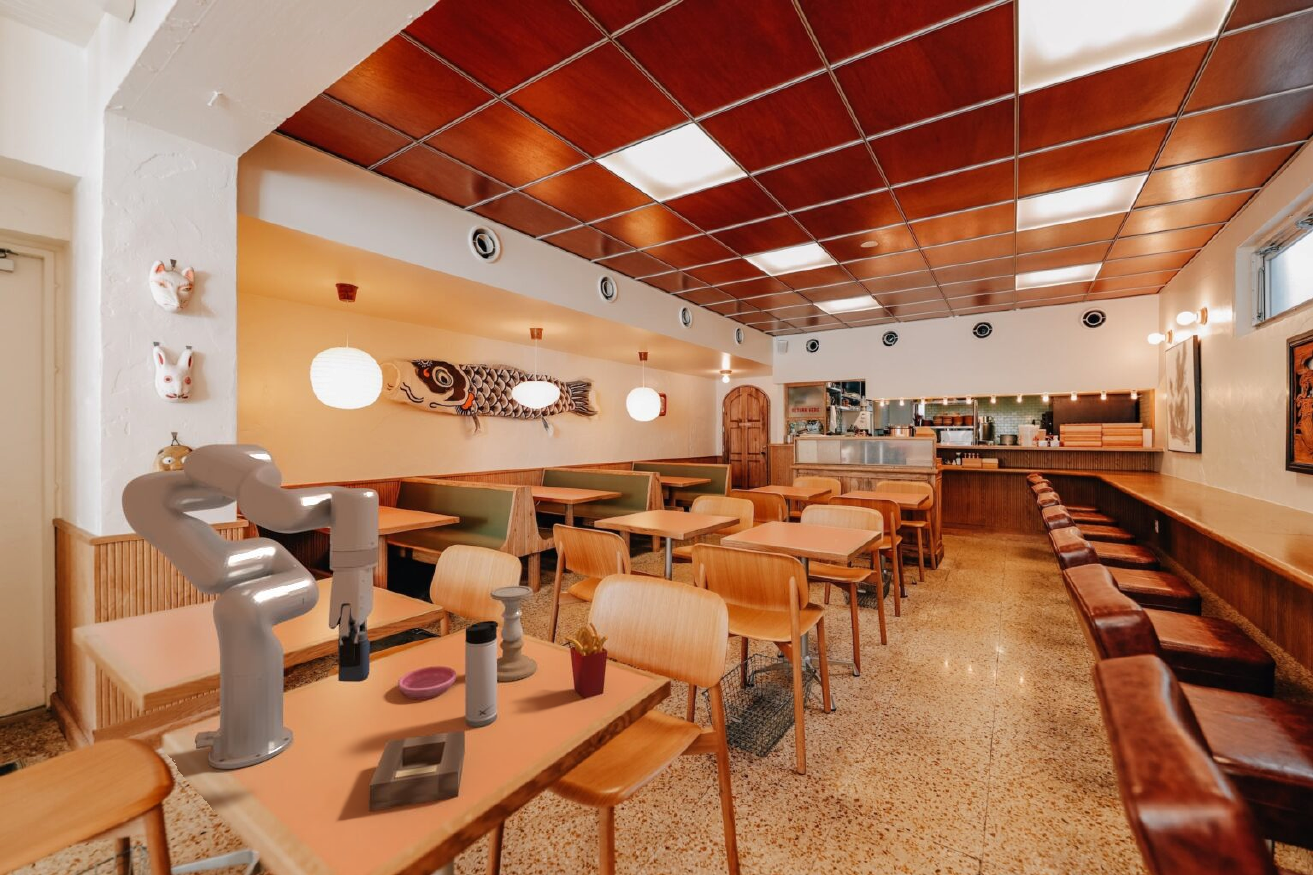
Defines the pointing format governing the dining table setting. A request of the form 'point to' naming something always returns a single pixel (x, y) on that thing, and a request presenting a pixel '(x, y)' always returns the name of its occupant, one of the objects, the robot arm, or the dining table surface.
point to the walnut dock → (418, 770)
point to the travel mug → (481, 674)
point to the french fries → (588, 662)
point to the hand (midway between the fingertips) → (353, 660)
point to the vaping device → (362, 670)
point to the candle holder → (513, 635)
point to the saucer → (427, 682)
